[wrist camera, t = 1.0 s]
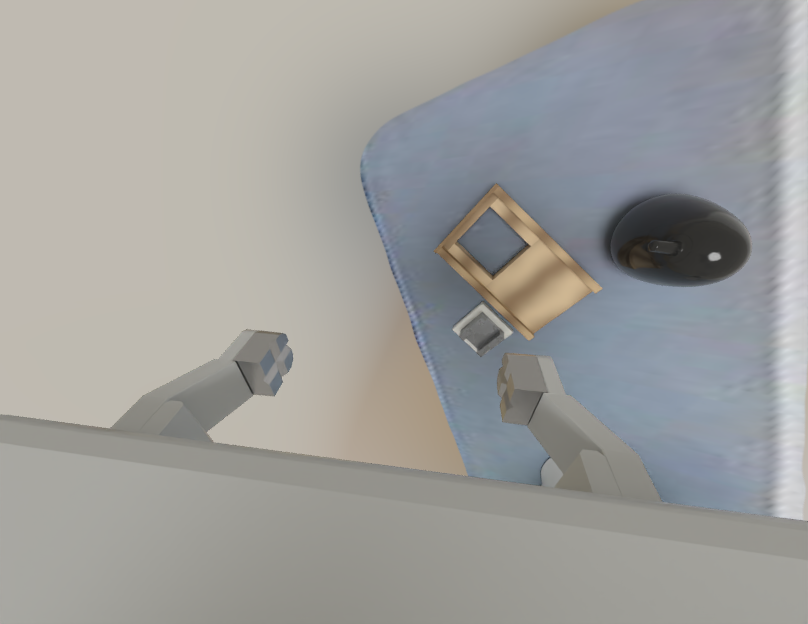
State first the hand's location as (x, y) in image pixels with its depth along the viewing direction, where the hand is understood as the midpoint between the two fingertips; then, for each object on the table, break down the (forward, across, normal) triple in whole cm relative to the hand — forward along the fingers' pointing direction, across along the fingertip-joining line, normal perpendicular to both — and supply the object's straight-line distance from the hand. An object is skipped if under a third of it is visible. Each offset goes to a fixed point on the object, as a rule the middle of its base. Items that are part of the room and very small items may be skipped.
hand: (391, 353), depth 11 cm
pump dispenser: (+33, +28, -8) cm, 44 cm away
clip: (+30, +10, -25) cm, 40 cm away
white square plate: (+32, +10, -25) cm, 41 cm away
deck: (+34, +13, -13) cm, 39 cm away
